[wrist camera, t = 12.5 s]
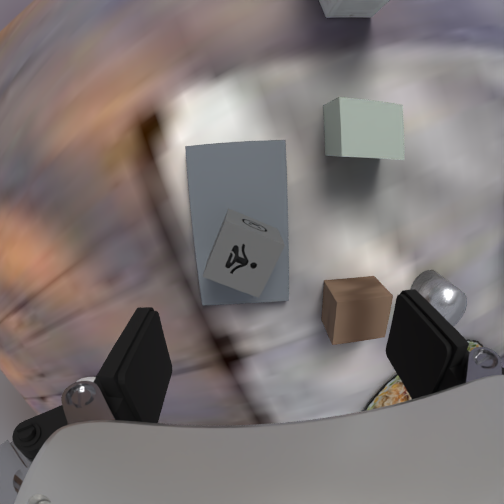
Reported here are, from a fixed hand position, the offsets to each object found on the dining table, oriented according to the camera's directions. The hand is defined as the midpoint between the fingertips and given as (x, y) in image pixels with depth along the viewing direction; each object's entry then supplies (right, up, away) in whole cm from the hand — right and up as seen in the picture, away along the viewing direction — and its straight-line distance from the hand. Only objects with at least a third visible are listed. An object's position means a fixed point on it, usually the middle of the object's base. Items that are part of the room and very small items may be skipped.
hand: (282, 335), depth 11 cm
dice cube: (-2, +4, +17) cm, 18 cm away
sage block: (+9, +15, +15) cm, 23 cm away
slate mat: (-2, +6, +18) cm, 19 cm away
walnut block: (+10, -2, +21) cm, 23 cm away
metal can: (+21, -1, +21) cm, 30 cm away
